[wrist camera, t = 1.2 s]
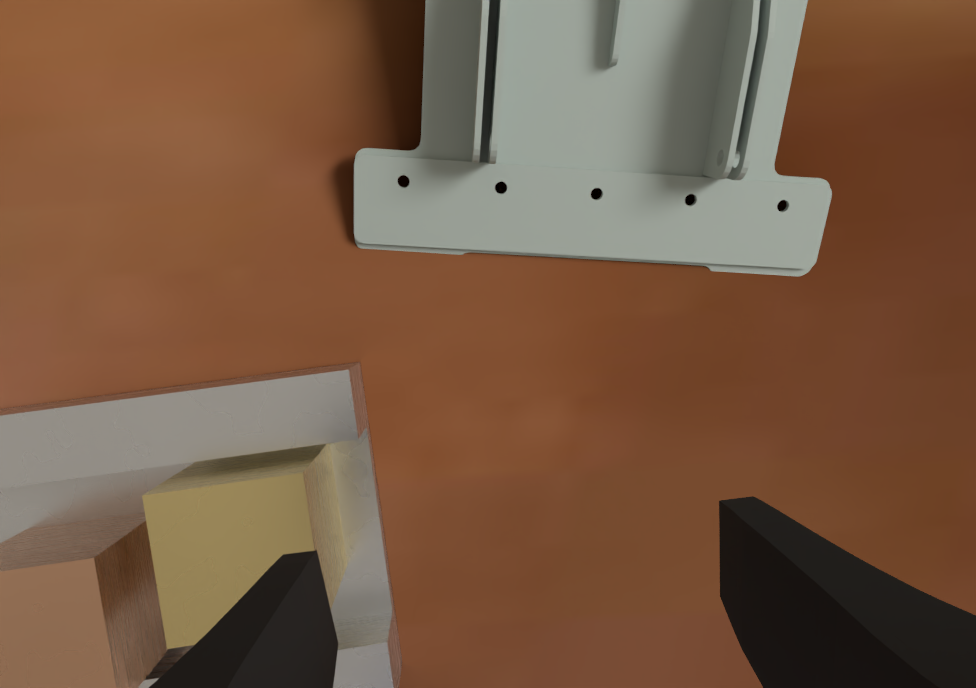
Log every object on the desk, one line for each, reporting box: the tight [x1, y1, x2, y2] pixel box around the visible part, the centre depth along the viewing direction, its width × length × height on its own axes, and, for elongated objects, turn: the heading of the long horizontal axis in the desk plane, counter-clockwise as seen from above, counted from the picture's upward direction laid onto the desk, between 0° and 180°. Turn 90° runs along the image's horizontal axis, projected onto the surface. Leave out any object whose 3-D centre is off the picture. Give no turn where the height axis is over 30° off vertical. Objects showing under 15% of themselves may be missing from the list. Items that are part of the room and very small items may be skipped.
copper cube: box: [0, 512, 169, 688], centre depth 19 cm, size 4×4×4 cm
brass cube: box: [142, 443, 347, 649], centre depth 19 cm, size 4×4×4 cm
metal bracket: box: [354, 0, 832, 276], centre depth 21 cm, size 14×6×15 cm
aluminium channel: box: [0, 362, 402, 688], centre depth 20 cm, size 10×12×3 cm
